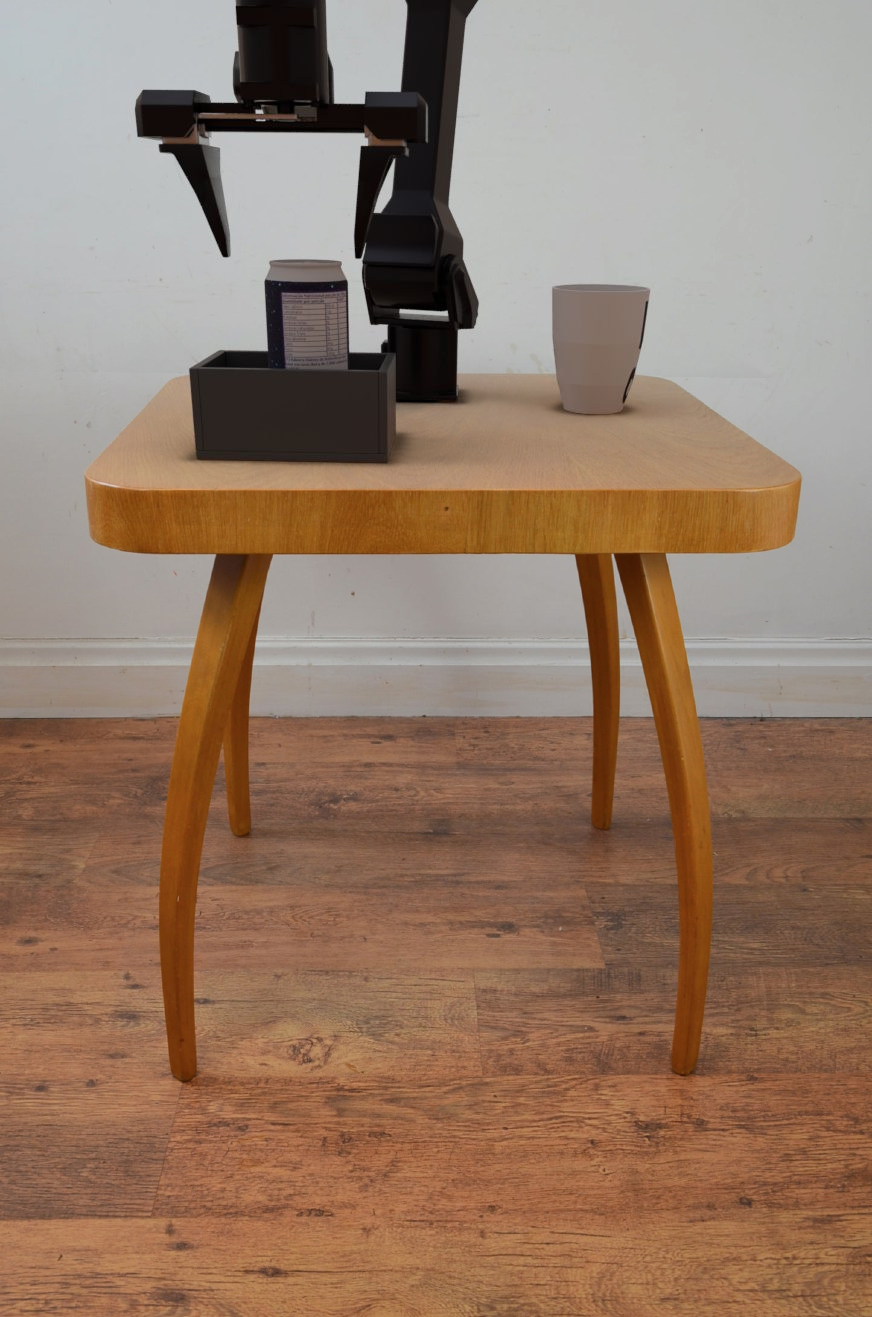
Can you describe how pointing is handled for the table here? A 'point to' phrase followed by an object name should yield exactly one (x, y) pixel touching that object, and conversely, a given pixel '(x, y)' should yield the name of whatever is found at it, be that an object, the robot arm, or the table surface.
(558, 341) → the cup
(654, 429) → the table surface
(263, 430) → the open storage box
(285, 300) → the beverage can
